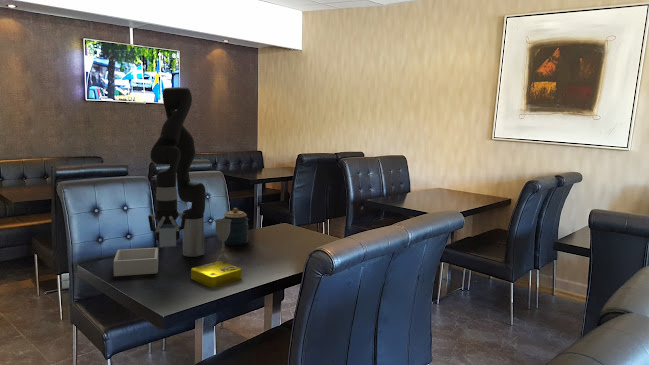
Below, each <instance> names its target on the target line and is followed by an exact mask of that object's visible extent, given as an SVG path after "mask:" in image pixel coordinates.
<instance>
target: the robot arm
mask: <svg viewBox="0 0 649 365" xmlns="http://www.w3.org/2000/svg"><path fill="white" fill-rule="evenodd" d="M162 101H163V106H164V111H165V115H166V120H165V121H164V123H163V124H162V127H161V132H160V136H159V137H158V139H157V141H155V143H154V145H153V146H152V147H151V150H150V160H151V161H152V162H153V164H155V165H169V167H168V169H163V170H159V171H157V172H156V191H155V199H156V201H155V202H156V203H155V204H156V212H155V214H148V222H149V228H150V229H149V230H150V231H151V232H154V233H155V240H156V241H157V242H159V227H161V226H162V224H163V225H165V224H173V226H174V227H175V226H176V242H177V241H178V240H180V239H181V238H180V236H181V235H180V231H181V230H182V256H184V257H189V258H190V257H191V258H193V257H194V258H196V257H201V256H204V255H205V230H204V228H205V226H204V225H205V224H204V221H205V219H204V216H205V215H204V213H205V210H206V199H207V198H206V197H207V196H206V194H207V192H206V186H205V185H204V183H202V182H197V181H191V179H190V168H191V165H192V164H193V161H194V160H195V157H196V149H195V147H196V146H195V141H194V140H195V139H194V137H193V136H192V135H191V133H190V132H189V131H188V129H187V128H186V127H185V126H184V122H185V121H186V119H187V116H188V114H189V112H190V109H191V107H192V102H193V97H192V92H191V90H190V89H189V88H188V87H186V86H176V87H175V86H174V87H165V88H163V90H162ZM178 197H179V199H180V200H181V201H182V202H185V203H191V205H190V206H191V207H190V208H188V209H185V210H183V211H182V213H179V212H178ZM155 218H156V219H157V220H158V223H157V225H156V227H155V225H154V220H155ZM178 218H179V219H180V220H181V223H180V225H178V222H177V219H178Z"/></svg>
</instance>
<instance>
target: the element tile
mask: <svg viewBox="0 0 649 365" xmlns="http://www.w3.org/2000/svg"><path fill="white" fill-rule="evenodd" d="M190 278H191V280H193V281H196V282H197V283H199V284H202V285H204V286H206V287H208V288H216V287H217V288H218V287H220V286H223V285H226V284H229V283H233V282H237V281H240V280H241V279H242V268H241V267H239V266H236V265H233V264H231V263H228V262H222V261H217V260H216V261H213V262H211V263H207V264H203V265H199V266H195V267H191V269H190Z"/></svg>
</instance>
